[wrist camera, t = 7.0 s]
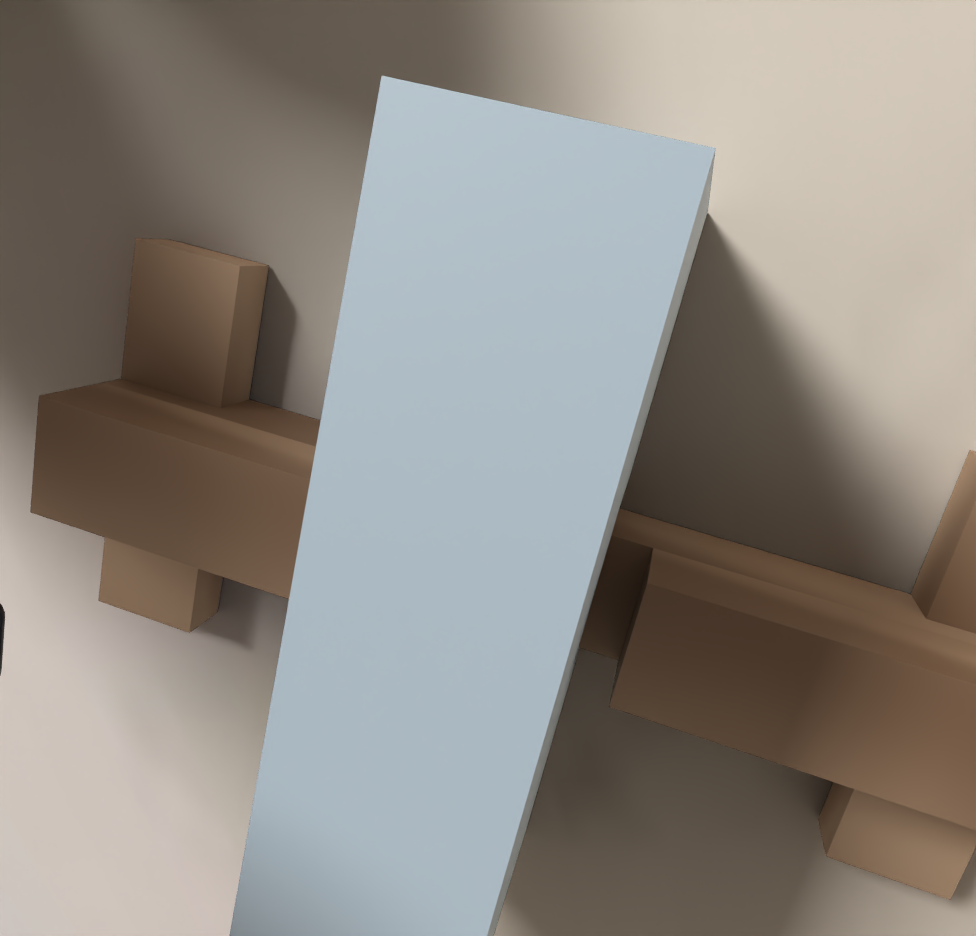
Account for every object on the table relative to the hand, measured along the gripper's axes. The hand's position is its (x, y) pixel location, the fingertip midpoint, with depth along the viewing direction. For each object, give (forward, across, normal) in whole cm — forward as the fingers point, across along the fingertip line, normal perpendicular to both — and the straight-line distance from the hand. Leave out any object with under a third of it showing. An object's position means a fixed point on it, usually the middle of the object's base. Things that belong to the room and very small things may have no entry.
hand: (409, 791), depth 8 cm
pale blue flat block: (+8, 0, 0) cm, 8 cm away
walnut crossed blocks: (+8, 0, 0) cm, 8 cm away
